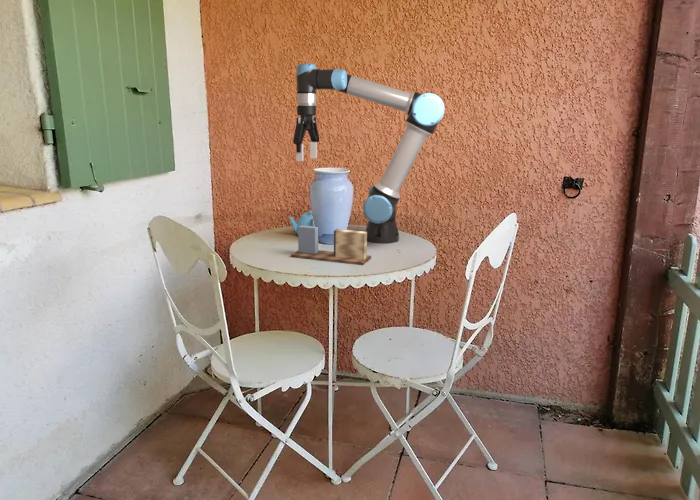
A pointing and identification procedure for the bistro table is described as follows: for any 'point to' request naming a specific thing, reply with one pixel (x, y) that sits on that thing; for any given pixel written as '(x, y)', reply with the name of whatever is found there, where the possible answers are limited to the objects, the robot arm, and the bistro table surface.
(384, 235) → the robot arm
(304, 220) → the blue round finned body
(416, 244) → the bistro table surface
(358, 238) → the l-shaped wooden stand
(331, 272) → the bistro table surface
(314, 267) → the bistro table surface
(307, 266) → the bistro table surface
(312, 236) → the pale blue rectangular block
